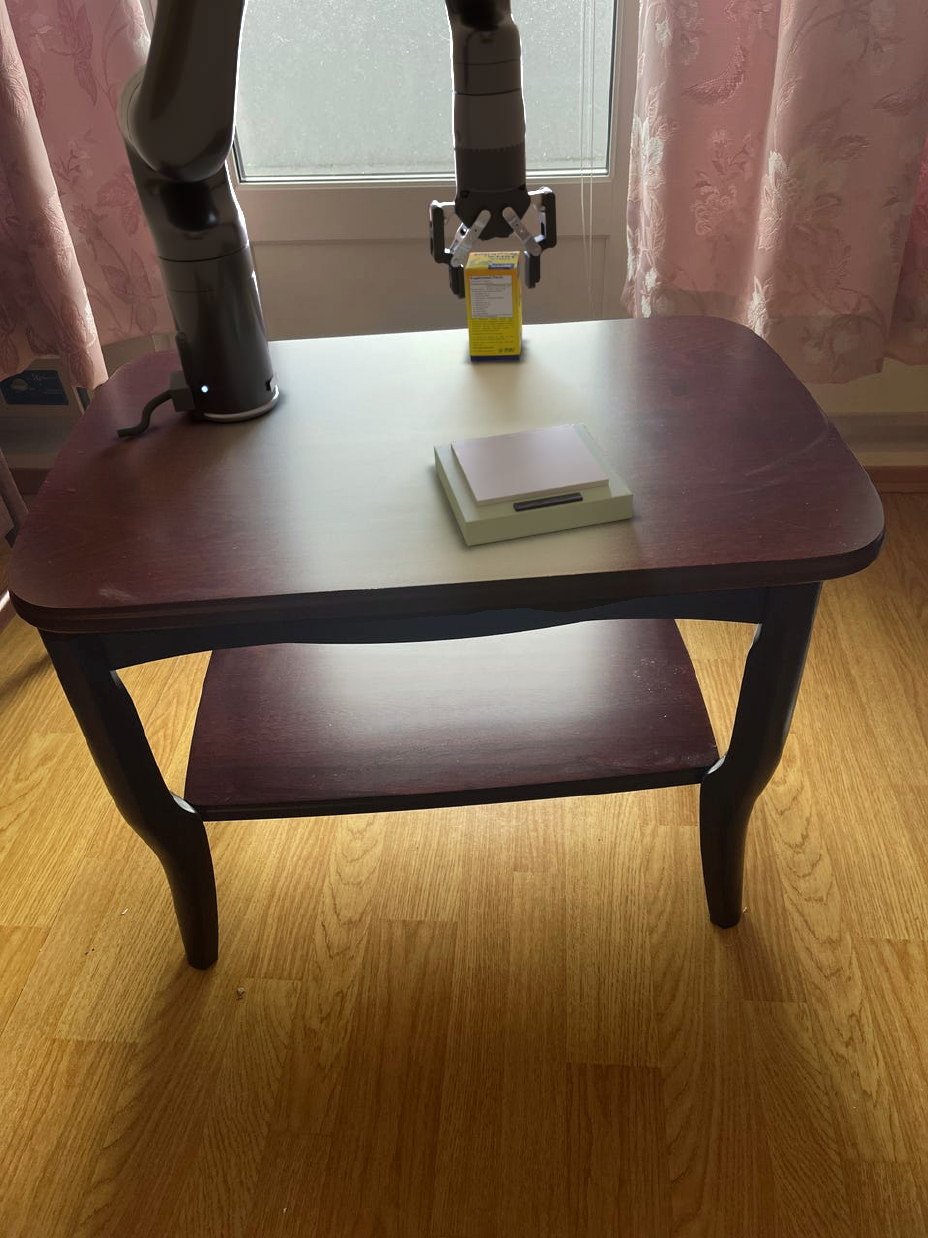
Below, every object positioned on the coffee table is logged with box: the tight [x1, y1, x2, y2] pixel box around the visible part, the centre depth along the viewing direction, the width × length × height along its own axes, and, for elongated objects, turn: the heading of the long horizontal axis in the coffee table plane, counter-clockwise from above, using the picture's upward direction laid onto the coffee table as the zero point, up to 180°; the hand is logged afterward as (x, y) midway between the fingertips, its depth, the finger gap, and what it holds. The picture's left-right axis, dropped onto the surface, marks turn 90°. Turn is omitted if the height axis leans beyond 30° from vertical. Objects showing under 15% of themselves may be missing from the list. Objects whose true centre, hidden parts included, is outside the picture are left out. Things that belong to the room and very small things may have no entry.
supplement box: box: [464, 251, 523, 362], centre depth 110 cm, size 6×6×11 cm
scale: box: [433, 422, 634, 547], centre depth 88 cm, size 15×14×3 cm
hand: (495, 291), depth 109 cm, fingers open, 8 cm apart
